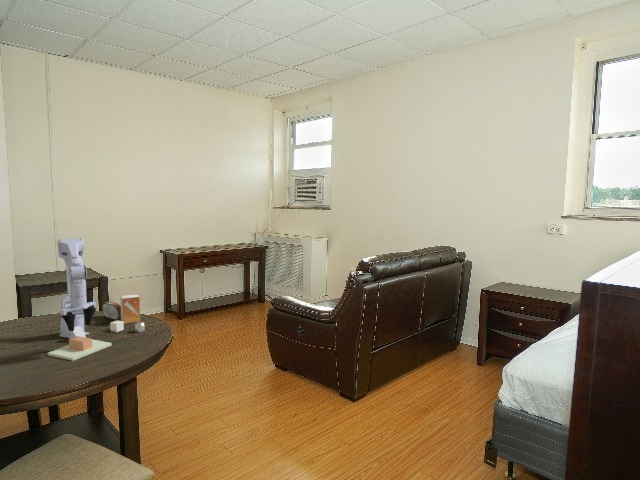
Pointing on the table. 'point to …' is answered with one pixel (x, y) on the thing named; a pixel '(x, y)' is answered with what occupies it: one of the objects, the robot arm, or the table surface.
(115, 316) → the tin
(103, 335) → the table surface
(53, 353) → the board
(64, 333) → the robot arm
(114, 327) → the off-white cube
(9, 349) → the table surface
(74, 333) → the grey-blue slab
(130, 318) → the small box
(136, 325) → the light grey cylinder
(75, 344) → the terracotta brick
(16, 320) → the table surface
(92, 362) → the table surface
